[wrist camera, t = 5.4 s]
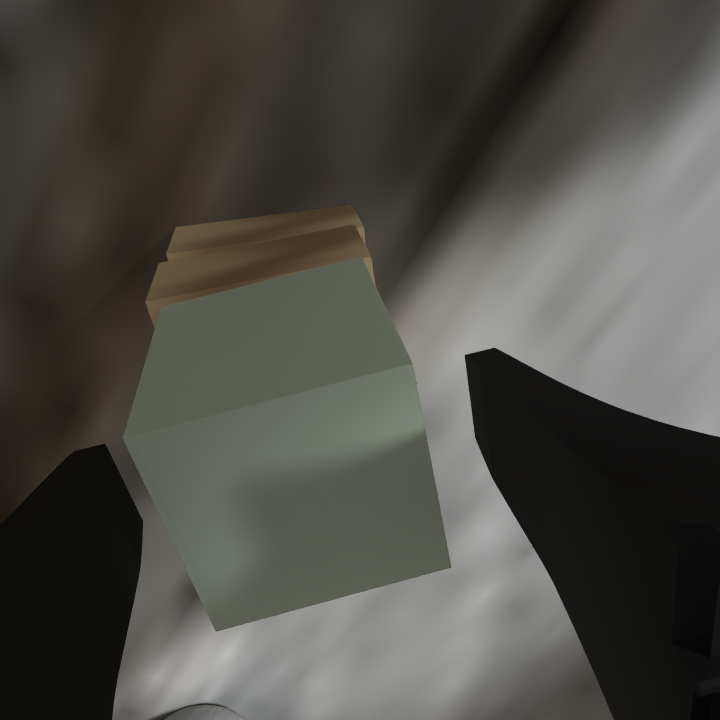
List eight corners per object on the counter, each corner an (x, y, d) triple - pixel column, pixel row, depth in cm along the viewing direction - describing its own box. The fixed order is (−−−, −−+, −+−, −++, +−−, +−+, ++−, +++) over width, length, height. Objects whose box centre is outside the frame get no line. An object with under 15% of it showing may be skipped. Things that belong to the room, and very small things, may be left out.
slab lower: (351, 202, 19) (363, 227, 16) (365, 353, 21) (378, 392, 19) (176, 224, 18) (165, 253, 16) (212, 376, 21) (207, 419, 18)
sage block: (361, 256, 14) (412, 363, 10) (396, 420, 16) (451, 567, 12) (161, 307, 14) (122, 438, 10) (224, 465, 16) (215, 631, 12)
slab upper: (354, 224, 16) (370, 256, 14) (381, 388, 19) (398, 437, 17) (159, 262, 16) (144, 301, 14) (211, 424, 18) (207, 479, 16)
